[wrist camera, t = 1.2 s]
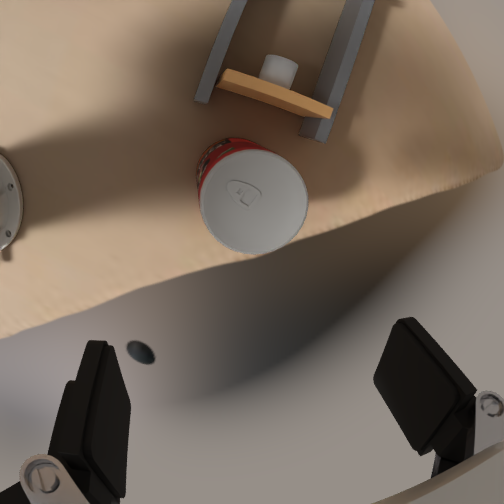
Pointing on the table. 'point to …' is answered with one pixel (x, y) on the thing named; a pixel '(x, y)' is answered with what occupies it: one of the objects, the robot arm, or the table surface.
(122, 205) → the table surface
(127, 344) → the table surface
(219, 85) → the pusher
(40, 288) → the table surface
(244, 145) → the canned food
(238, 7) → the frame
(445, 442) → the robot arm
